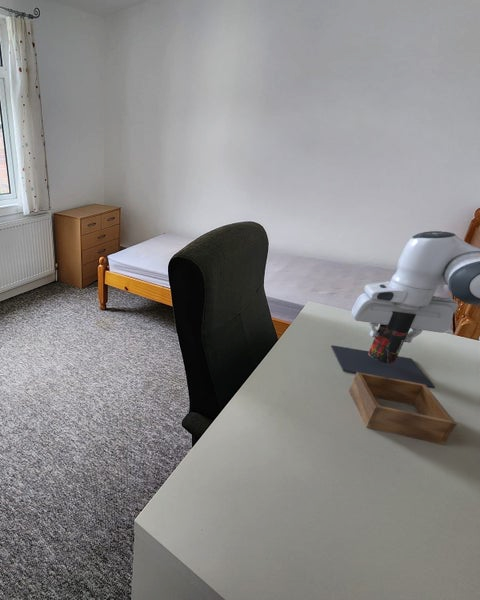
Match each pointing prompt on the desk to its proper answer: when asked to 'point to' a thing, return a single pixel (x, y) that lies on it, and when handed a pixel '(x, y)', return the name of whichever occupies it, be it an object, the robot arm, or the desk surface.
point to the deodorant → (391, 337)
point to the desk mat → (380, 366)
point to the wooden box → (423, 426)
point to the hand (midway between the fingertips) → (389, 338)
